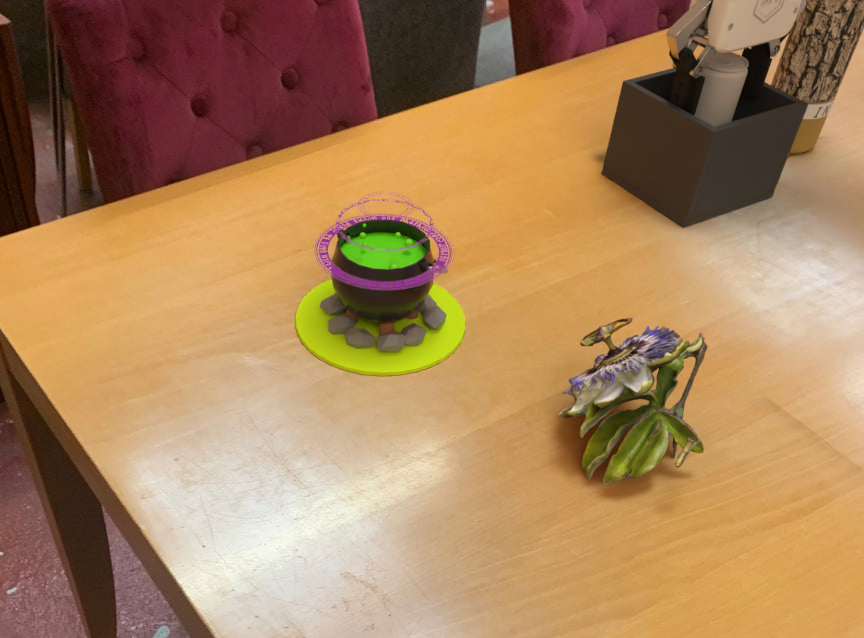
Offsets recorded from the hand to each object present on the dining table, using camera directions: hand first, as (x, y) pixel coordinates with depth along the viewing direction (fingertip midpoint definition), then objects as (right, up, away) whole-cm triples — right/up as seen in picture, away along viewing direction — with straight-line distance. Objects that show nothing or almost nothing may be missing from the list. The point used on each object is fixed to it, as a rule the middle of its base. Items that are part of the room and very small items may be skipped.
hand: (712, 103), depth 88 cm
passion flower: (-15, -35, -20) cm, 43 cm away
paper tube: (+14, +2, +14) cm, 19 cm away
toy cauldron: (-33, -24, -10) cm, 42 cm away
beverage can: (0, -5, +6) cm, 8 cm away
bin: (0, -6, +7) cm, 9 cm away
